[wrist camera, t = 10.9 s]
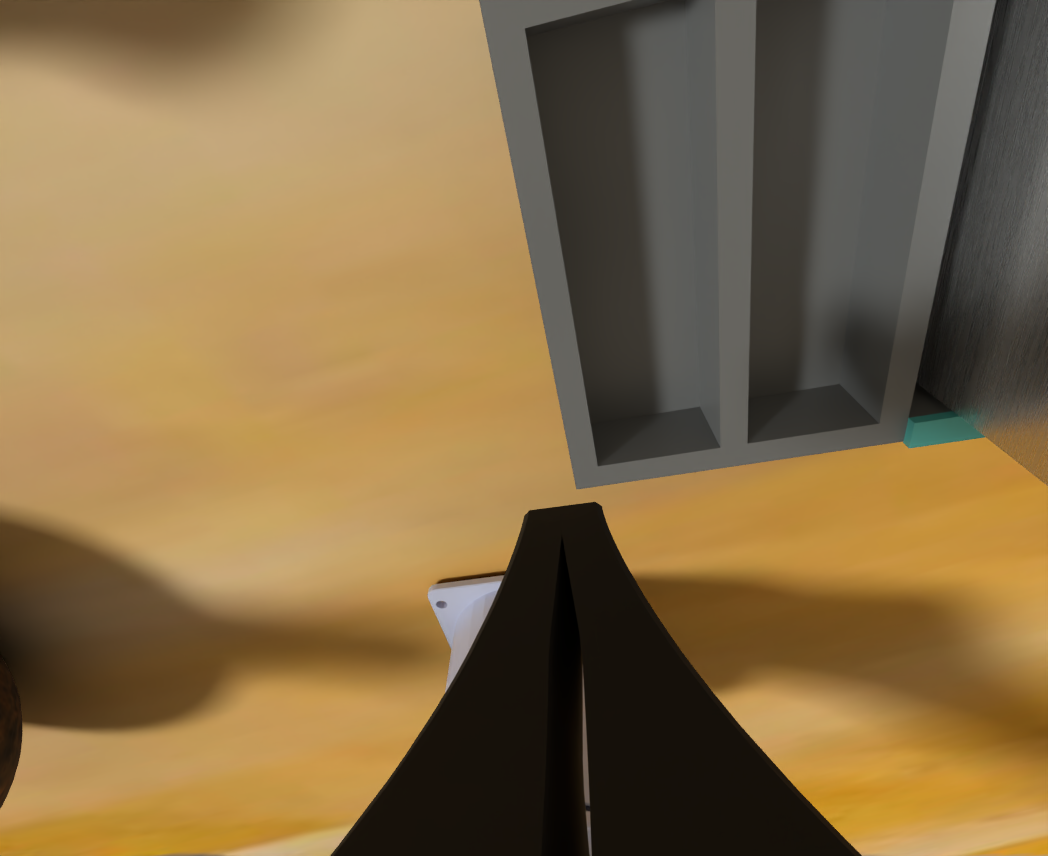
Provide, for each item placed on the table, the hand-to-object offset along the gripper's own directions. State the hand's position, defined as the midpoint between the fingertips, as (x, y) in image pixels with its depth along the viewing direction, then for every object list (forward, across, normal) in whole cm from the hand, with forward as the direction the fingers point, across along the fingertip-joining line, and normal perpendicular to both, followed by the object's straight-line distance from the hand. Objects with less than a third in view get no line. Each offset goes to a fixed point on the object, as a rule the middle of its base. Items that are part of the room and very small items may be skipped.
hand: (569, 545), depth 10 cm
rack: (+9, -7, -3) cm, 12 cm away
